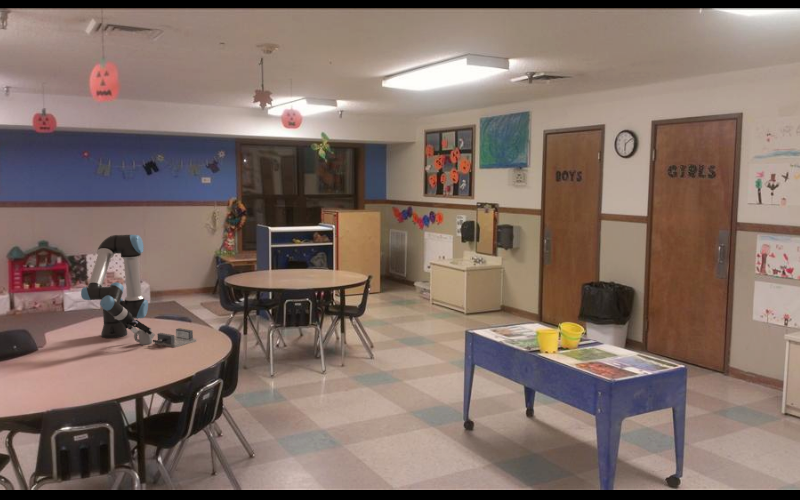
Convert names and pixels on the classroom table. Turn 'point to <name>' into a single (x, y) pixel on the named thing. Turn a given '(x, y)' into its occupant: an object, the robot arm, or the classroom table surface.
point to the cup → (143, 337)
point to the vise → (175, 338)
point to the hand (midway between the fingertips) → (146, 335)
